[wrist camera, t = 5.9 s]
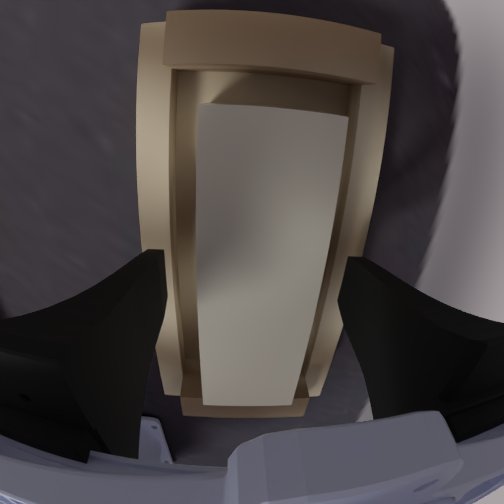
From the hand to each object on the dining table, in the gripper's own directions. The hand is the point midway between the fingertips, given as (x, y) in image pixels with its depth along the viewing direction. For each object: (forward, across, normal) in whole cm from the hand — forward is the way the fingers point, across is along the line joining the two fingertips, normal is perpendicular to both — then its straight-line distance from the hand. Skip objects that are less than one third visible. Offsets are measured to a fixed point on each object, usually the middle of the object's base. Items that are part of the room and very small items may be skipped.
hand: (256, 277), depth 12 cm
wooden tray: (+3, 0, 0) cm, 3 cm away
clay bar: (+3, 0, 0) cm, 3 cm away
